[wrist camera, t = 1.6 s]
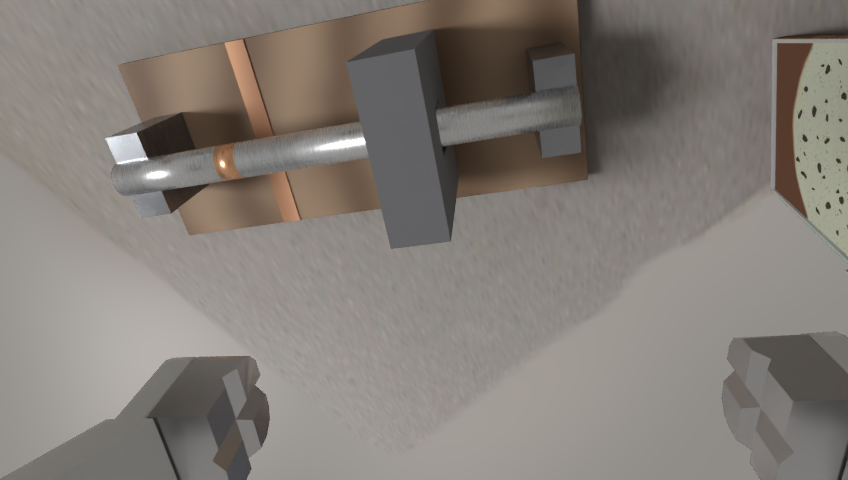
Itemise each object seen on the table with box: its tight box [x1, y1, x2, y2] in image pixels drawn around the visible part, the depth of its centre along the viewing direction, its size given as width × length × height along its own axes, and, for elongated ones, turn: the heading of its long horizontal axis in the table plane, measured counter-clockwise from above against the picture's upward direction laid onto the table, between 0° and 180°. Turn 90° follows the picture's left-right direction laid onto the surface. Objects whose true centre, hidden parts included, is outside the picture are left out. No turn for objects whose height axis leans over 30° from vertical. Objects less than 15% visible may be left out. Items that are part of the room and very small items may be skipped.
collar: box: [346, 29, 459, 249], centre depth 28 cm, size 3×9×9 cm, turn 11°
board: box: [118, 0, 588, 235], centre depth 34 cm, size 28×12×1 cm, turn 101°
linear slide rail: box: [105, 42, 582, 218], centre depth 31 cm, size 26×5×6 cm, turn 101°
